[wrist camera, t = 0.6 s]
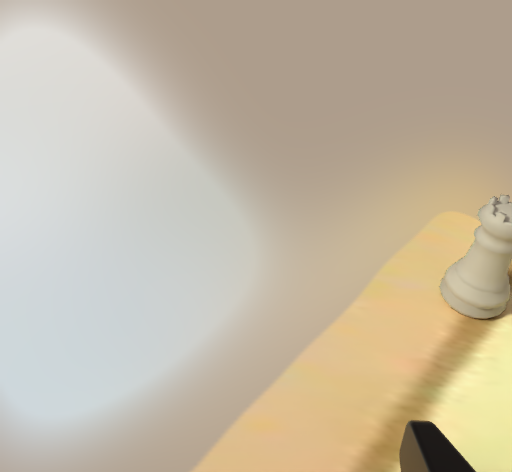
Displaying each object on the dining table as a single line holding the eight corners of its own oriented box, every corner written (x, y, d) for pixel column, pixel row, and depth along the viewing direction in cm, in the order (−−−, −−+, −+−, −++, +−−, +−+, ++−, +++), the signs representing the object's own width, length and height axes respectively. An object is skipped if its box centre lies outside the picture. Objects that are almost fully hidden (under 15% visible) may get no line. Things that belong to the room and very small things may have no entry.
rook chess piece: (473, 332, 31) (519, 240, 26) (424, 288, 34) (456, 198, 29) (518, 307, 33) (569, 216, 27) (468, 268, 35) (505, 179, 30)
